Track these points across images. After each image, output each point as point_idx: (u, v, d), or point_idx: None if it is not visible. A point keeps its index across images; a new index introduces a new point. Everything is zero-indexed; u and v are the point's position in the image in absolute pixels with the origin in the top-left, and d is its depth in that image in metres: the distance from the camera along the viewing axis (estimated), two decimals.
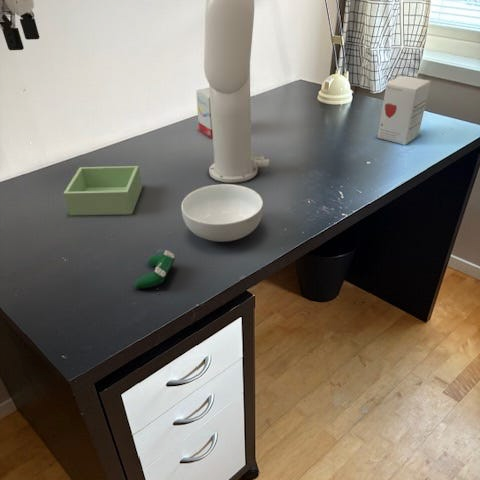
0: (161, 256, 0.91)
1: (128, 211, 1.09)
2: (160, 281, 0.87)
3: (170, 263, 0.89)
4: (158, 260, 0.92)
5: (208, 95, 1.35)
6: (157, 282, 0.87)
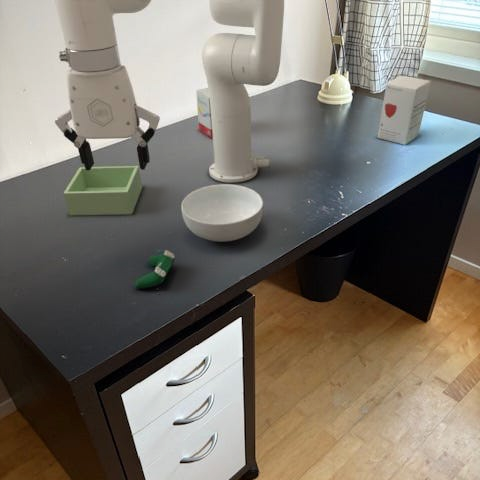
0: (161, 256, 0.91)
1: (128, 211, 1.09)
2: (160, 281, 0.87)
3: (170, 263, 0.89)
4: (158, 260, 0.92)
5: (208, 95, 1.35)
6: (157, 282, 0.87)
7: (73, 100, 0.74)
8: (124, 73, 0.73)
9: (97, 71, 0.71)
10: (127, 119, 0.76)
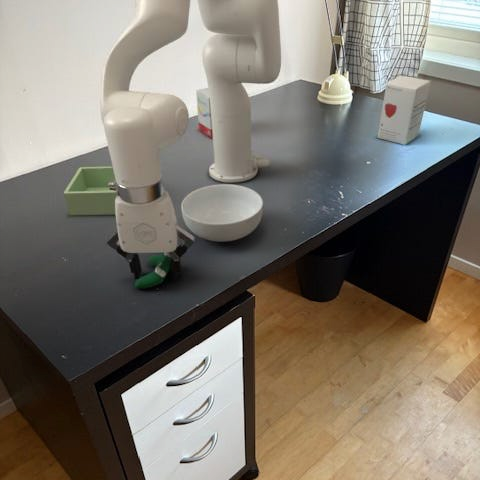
0: (161, 256, 0.91)
1: None
2: (160, 281, 0.87)
3: (170, 263, 0.89)
4: (158, 260, 0.92)
5: (208, 95, 1.35)
6: (157, 282, 0.87)
7: (120, 224, 0.81)
8: (168, 200, 0.79)
9: (144, 203, 0.77)
10: (169, 238, 0.82)
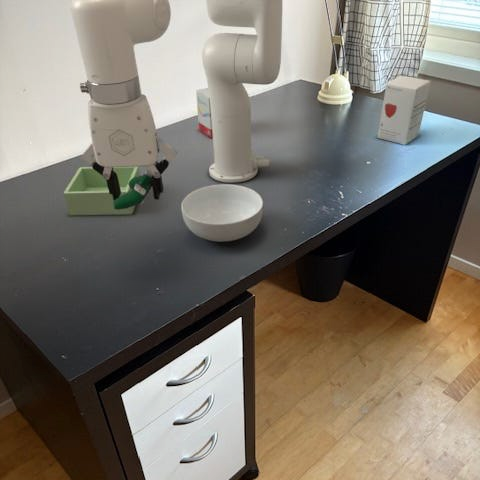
0: (141, 176, 0.85)
1: (128, 211, 1.09)
2: (140, 200, 0.81)
3: None
4: (138, 181, 0.85)
5: (208, 95, 1.35)
6: (137, 201, 0.80)
7: (94, 131, 0.74)
8: (145, 103, 0.73)
9: (119, 103, 0.70)
10: (148, 148, 0.76)
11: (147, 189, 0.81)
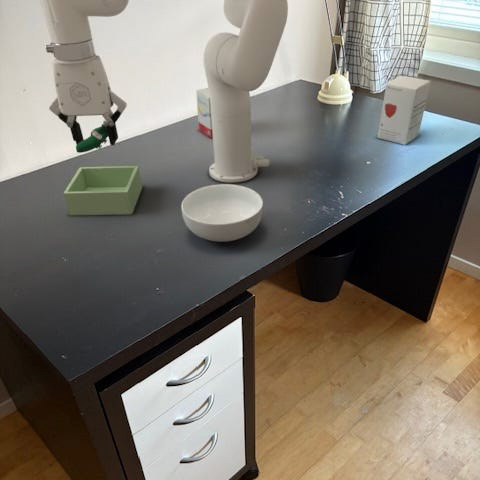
0: (100, 127, 1.03)
1: (128, 211, 1.09)
2: (97, 143, 0.99)
3: None
4: (98, 131, 1.03)
5: (208, 95, 1.35)
6: (94, 144, 0.98)
7: (58, 84, 0.92)
8: (98, 61, 0.91)
9: (76, 60, 0.89)
10: (102, 99, 0.94)
11: (103, 135, 0.99)
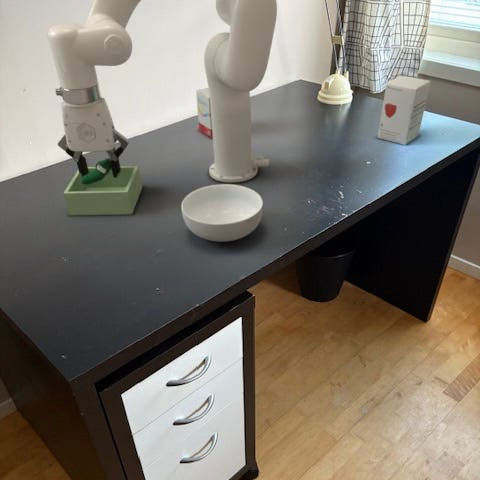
0: (104, 160, 1.11)
1: (128, 211, 1.09)
2: (101, 177, 1.07)
3: None
4: (102, 164, 1.11)
5: (208, 95, 1.35)
6: (99, 177, 1.07)
7: (66, 124, 1.00)
8: (103, 104, 0.99)
9: (83, 104, 0.97)
10: (106, 137, 1.02)
11: (107, 169, 1.07)
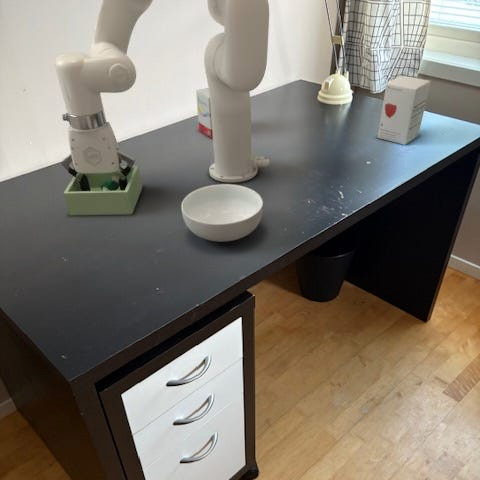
0: (109, 181, 1.14)
1: (128, 211, 1.09)
2: None
3: (116, 186, 1.12)
4: (107, 185, 1.15)
5: (208, 95, 1.35)
6: None
7: (73, 148, 1.04)
8: (109, 129, 1.02)
9: (89, 129, 1.00)
10: (112, 160, 1.05)
11: None
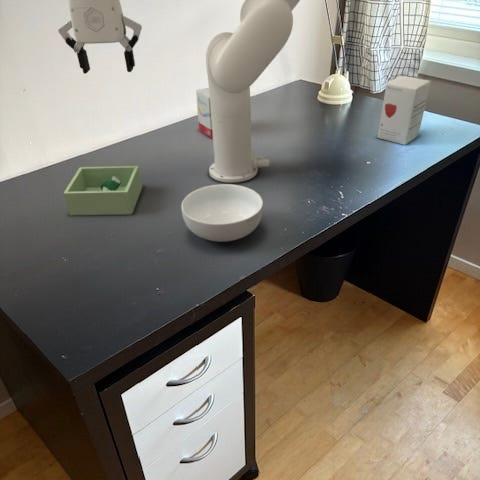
0: (109, 181, 1.14)
1: (128, 211, 1.09)
2: None
3: (116, 186, 1.12)
4: (107, 185, 1.15)
5: (208, 95, 1.35)
6: None
7: (73, 9, 0.94)
8: None
9: None
10: (115, 25, 0.96)
11: None
